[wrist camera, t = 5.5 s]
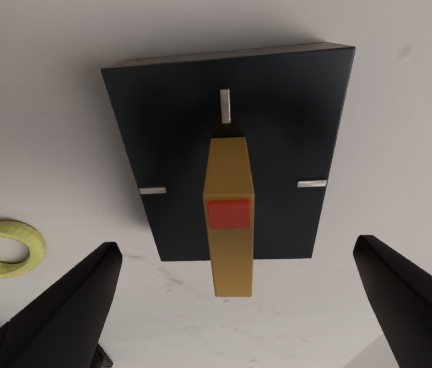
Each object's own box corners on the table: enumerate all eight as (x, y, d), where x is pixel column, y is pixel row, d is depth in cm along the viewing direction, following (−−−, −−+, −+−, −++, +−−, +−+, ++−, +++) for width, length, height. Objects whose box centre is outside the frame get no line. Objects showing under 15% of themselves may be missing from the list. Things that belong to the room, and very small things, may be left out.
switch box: (245, 224, 14) (252, 302, 10) (218, 225, 14) (214, 303, 10) (245, 136, 11) (255, 198, 7) (210, 137, 11) (201, 200, 7)
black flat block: (299, 226, 18) (312, 260, 15) (169, 230, 19) (160, 263, 16) (328, 41, 11) (358, 46, 9) (125, 59, 12) (97, 69, 10)
